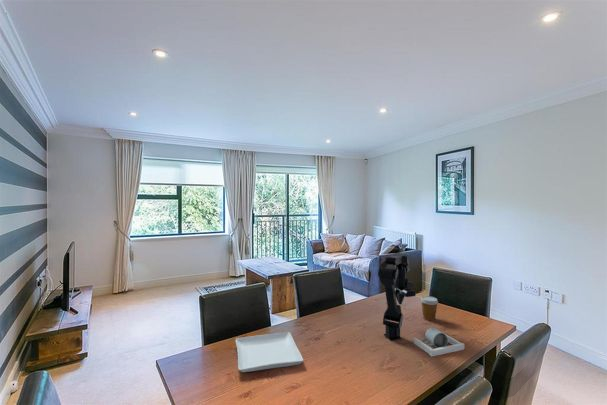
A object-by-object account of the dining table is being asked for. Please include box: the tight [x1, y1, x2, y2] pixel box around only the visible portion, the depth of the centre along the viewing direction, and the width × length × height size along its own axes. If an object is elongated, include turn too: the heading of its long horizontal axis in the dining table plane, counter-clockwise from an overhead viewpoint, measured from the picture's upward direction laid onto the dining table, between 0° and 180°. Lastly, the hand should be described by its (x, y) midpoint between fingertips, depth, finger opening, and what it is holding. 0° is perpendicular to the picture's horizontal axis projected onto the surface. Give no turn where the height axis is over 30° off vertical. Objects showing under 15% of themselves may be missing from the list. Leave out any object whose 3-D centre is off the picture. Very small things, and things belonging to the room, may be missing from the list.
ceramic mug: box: [421, 327, 449, 349], centre depth 142 cm, size 11×8×8 cm
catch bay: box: [413, 333, 465, 357], centre depth 141 cm, size 19×13×2 cm, turn 109°
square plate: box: [235, 331, 304, 373], centre depth 133 cm, size 27×27×4 cm
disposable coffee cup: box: [420, 295, 439, 322], centre depth 173 cm, size 10×10×12 cm
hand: (400, 304), depth 163 cm, fingers closed
